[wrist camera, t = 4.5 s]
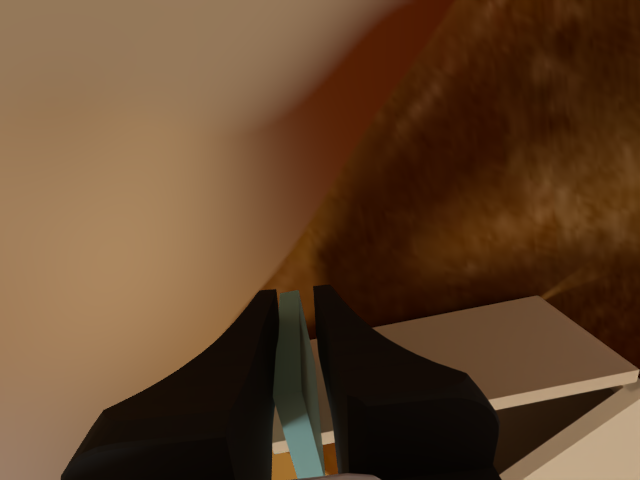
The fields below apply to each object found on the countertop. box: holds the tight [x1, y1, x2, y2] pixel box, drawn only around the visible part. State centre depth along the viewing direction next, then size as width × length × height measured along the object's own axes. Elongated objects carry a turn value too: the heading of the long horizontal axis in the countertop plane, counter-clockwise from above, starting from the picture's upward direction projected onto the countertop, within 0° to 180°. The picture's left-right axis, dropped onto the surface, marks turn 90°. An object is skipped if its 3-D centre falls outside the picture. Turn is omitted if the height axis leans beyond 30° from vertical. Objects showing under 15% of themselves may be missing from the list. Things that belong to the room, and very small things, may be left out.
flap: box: [272, 290, 639, 479], centre depth 13 cm, size 14×5×7 cm, turn 100°
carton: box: [493, 378, 640, 480], centre depth 18 cm, size 14×12×6 cm
